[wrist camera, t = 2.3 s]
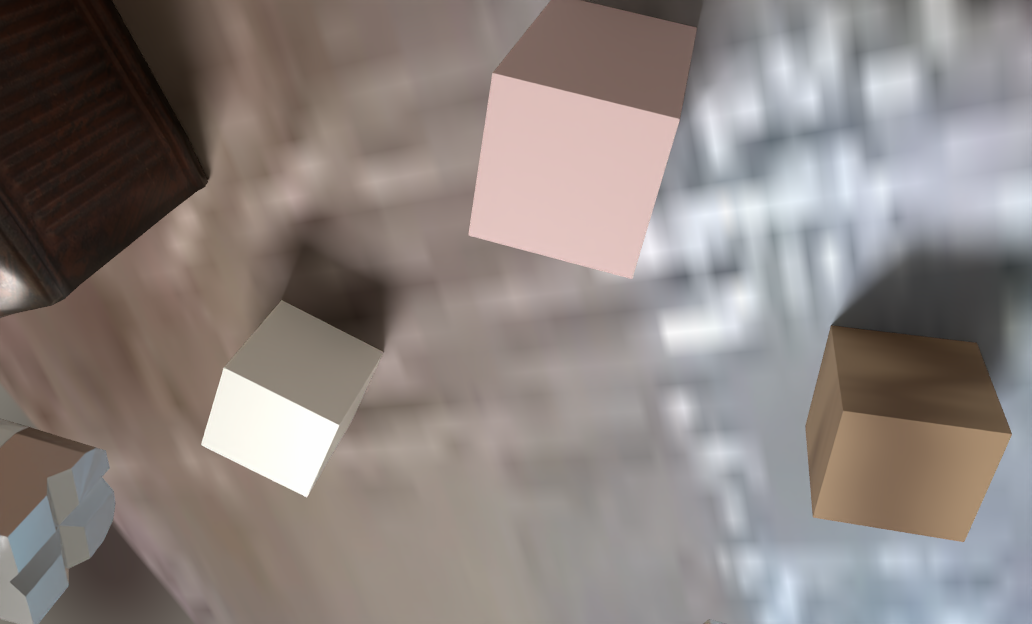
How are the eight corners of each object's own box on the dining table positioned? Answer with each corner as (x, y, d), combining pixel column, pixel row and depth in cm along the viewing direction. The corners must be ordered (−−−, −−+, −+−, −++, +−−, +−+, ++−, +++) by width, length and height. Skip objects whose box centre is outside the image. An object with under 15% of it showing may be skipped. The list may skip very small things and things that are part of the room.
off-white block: (384, 351, 36) (339, 425, 32) (352, 421, 39) (307, 497, 35) (282, 299, 36) (223, 367, 32) (257, 373, 39) (201, 445, 35)
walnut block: (976, 341, 30) (1012, 434, 26) (937, 443, 32) (963, 542, 28) (830, 324, 31) (843, 410, 27) (805, 425, 33) (812, 517, 29)
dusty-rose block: (697, 27, 26) (679, 119, 19) (658, 159, 28) (632, 279, 22) (555, -6, 26) (492, 72, 20) (530, 127, 29) (468, 235, 22)
